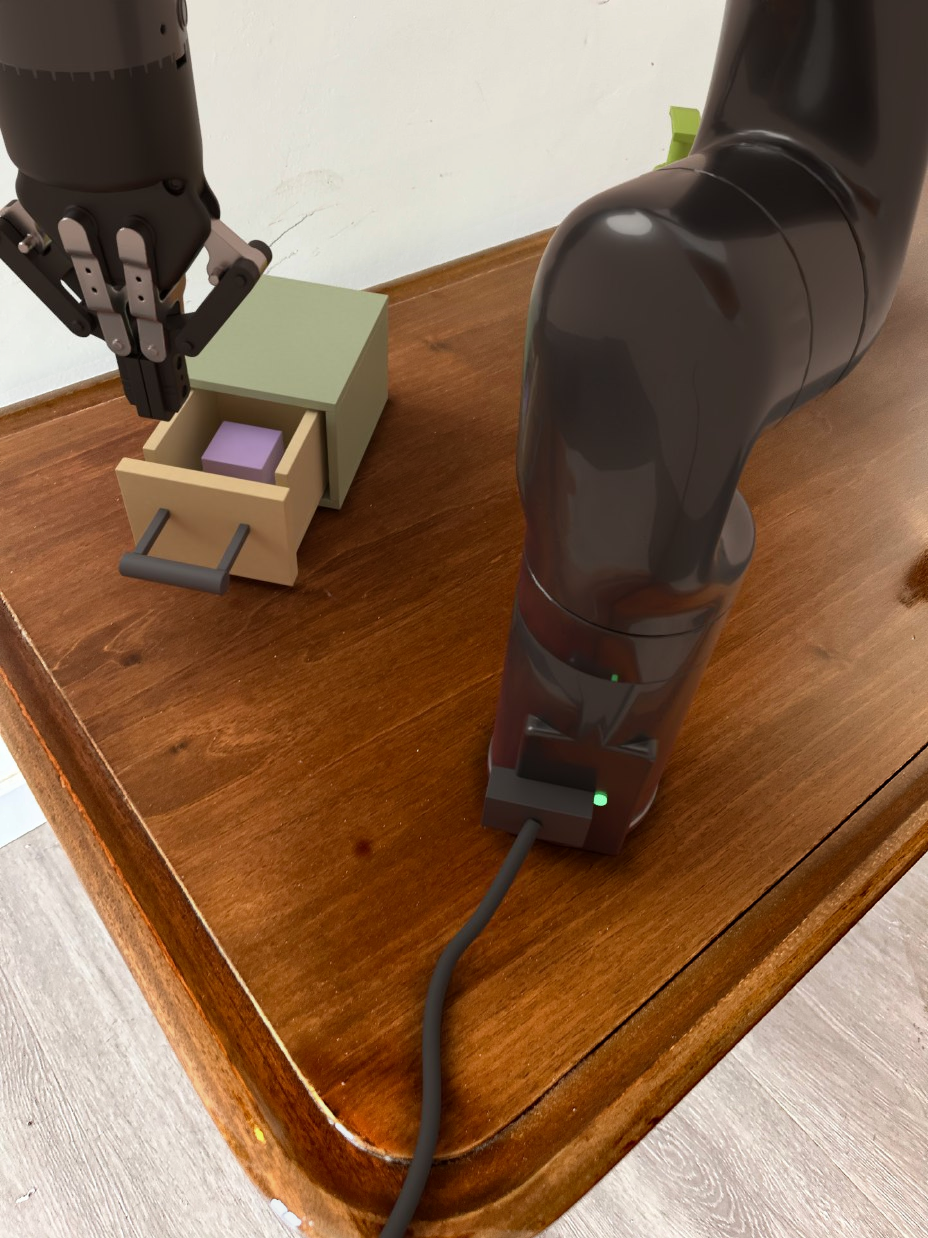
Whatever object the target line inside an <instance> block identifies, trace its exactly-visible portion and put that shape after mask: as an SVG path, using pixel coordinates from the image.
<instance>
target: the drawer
mask: <svg viewBox="0 0 928 1238" xmlns="http://www.w3.org/2000/svg"><path fill="white" fill-rule="evenodd" d="M223 421H228V422H234V423H239V424H245V425H250V426H256V427H261V428H267V429H272V430H278V431H282V435H283V446H284V455H283V457H282V459H281V461H280V463H279V465H278V467H277V469H276V471H275V480H276V485H270V484H265V483H260V482H254V481H249V480H243V479H238V478H233V477H227V476H222V475H217V474H211V473H206V472H203V466H202V461H201V457H202V456H203V454H204V453H205V451H206V449H207V448H208V446H209V444H210V443H211V441H212V439H213V438H214V436H215V434H216V433H217V431H218V429H219V428H220V426H221V424H222V423H223ZM142 451H143V456H144V460H141V459H136V458H129V457H125V456H124V457H122V459H121V460H120V461H119V463H118V465H117V466H116V467H115V469H114V471H115V474H116V478H117V482H118V485H119V489H120V493H121V497H122V501H123V503H124V507H125V511H126V515H127V518H128V522H129V525H130V529H131V533H132V537H133V540H134V544H135V547H134V549H133V550H132V552H131V551H125V552H124V553H123V554H122V555H121V557H120V559H119V563H118V572H119V575H121V576H122V577H126V578H130V579H131V578H132V579H137V580H141V581H146V582H152V583H156V584H162V585H166V586H172V587H175V588H176V587H177V588H183V589H186V590H191V591H197V592H202V593H207V594H212V595H217V596H225V595H226V593H227V591H228V590H229V586H230V580H231V578H230V577H231V576H237V577H243V578H247V579H253V580H258V581H264V582H269V583H274V584H278V585H285V586H288V587H293V586H294V584H295V582H296V579H297V577H298V575H299V569H298V567H299V566H298V557H297V552H298V549H299V548H300V546H301V544H302V541H303V539H304V536H305V535H306V532H307V530H308V528H309V526H310V524H311V521H312V519H313V517H314V514H315V512H316V510H317V509H318V507H319V506H318V504H319V501H320V499H321V497H322V495H323V493H324V490H325V488H326V486H327V484H328V482H329V466H328V447H327V428H326V411H322V410H316V409H311V408H305V407H299V406H294V405H288V404H283V403H277V402H271V401H266V400H260V399H255V398H249V397H244V396H238V395H232V394H227V393H221V392H216V391H210V390H204V389H199V388H193V387H191V391H190V394H189V397H188V399H187V400H186V402H185V403H184V405H183V406H182V408H181V409H180V411H179V412H178V413H175V415H174V416H173V418H172V419H171V421H170V422H166V421H160V422H158V424H157V425H156V427H155V428H154V430H153V431H152V433H151V435H150V436H149V438H147V440H146V442H145V443H144V445H143V447H142ZM230 575H231V576H230Z"/></svg>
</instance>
